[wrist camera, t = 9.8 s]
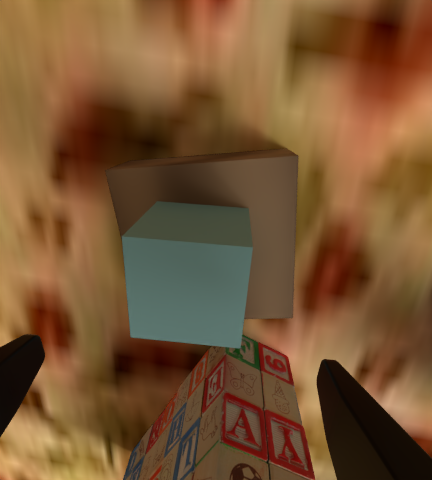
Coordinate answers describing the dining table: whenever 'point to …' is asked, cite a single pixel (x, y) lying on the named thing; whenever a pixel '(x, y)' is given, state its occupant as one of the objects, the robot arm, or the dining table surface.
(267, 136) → the dining table surface
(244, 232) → the teal cube
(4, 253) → the dining table surface
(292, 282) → the walnut block
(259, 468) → the stack of blocks
